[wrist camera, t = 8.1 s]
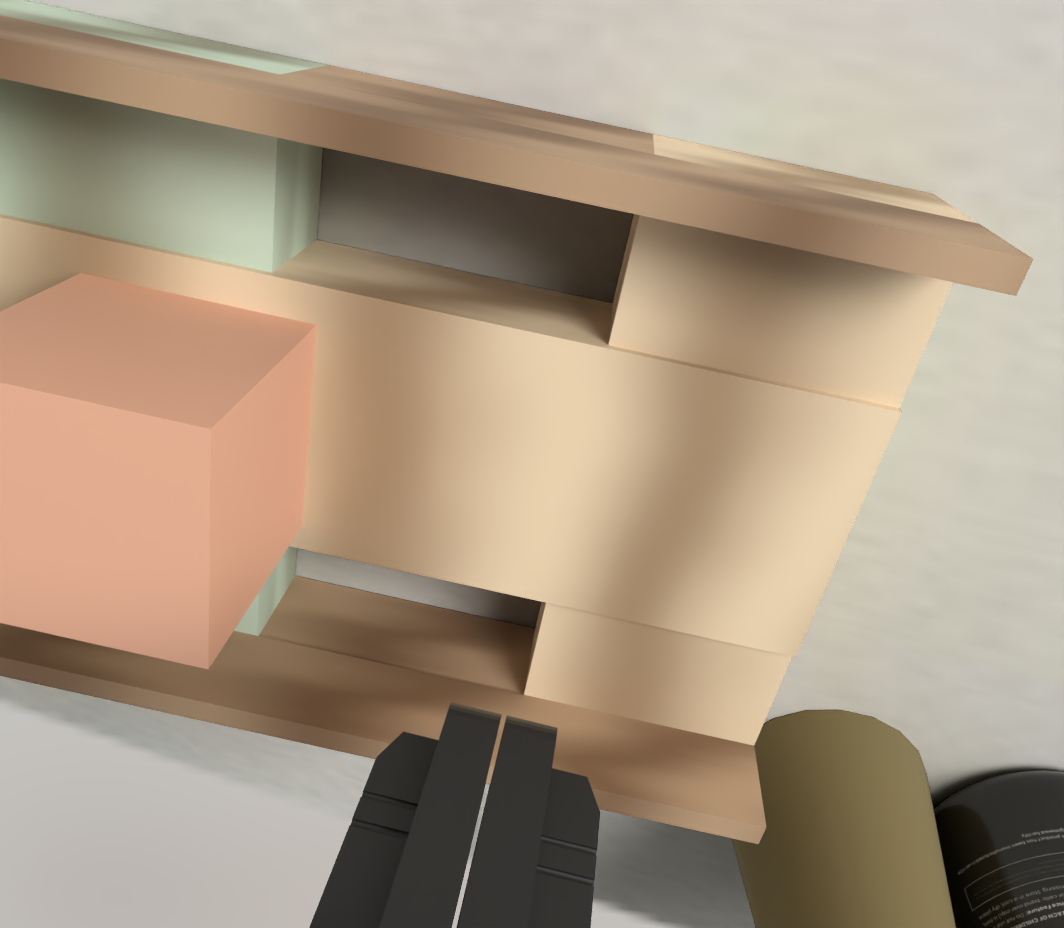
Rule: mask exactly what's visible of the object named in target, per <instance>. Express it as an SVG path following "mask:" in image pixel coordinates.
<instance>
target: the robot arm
mask: <svg viewBox="0 0 1064 928" xmlns="http://www.w3.org/2000/svg"><path fill="white" fill-rule="evenodd" d="M501 716H502V714H499V713H495V712H491V711H487V710H483V709H478V708H474V707H470V706H466V705H462V704H458V703H454V702H451V704H450V706H449V709H448V712H447V715H446V718H445V721H444V724H443V728H442V731H441V734H440V737H439V740H436V739H432V738H428V737H424V736H420V735H416V734H412V733H408V732H404V731H403V732H402V733H401V734H400V735H399V736H398V737H397V738H396V739H395V740H394V741H393V742H392V743H391V744H390V745H389V746H388V747H386V748H385V749H384V750H383V751H382V752H381V753H380V754H379V755H378V756H377V758H376V760H375V763H374V765H373V768H372V770H371V773H370V775H369V778H368V780H367V783H366V785H365V788H364V791H363V795H362V797H361V798H360V801H359V803H358V806H357V808H356V811H355V813H354V816H353V819H352V823H351V825H350V826H349V829H348V831H347V834H346V836H345V839H344V841H343V844H342V846H341V849H340V851H339V854H338V856H337V859H336V862H335V864H334V867H333V869H332V872H331V874H330V877H329V880H328V882H327V884H326V887H325V889H324V893H323V895H322V897H321V900H320V902H319V905H318V907H317V910H316V912H315V915H314V918H313V920H312V923H311V925H310V928H452V923H453V919H454V915H455V911H456V906H457V902H458V898H459V894H460V890H461V885H462V881H463V877H464V873H465V869H466V864H467V860H468V856H469V852H470V848H471V843H472V839H473V835H474V831H475V826H476V822H477V818H478V814H479V810H480V805H481V801H482V797H483V793H484V788H485V784H486V780H487V776H488V771H489V767H490V763H491V759H492V754H493V750H494V746H495V742H496V737H497V733H498V729H499V725H500V721H501ZM557 730H558V729H557V727H553V726H549V725H544V724H540V723H536V722H532V721H528V720H524V719H520V718H516V717H512V716H508V715H507V716H506V720H505V724H504V728H503V732H502V737H501V741H500V745H499V749H498V753H497V757H496V762H495V766H494V770H493V774H492V778H491V783H490V787H489V791H488V795H487V799H486V804H485V808H484V812H483V816H482V821H481V825H480V829H479V833H478V838H477V842H476V846H475V851H474V855H473V859H472V864H471V868H470V872H469V877H468V881H467V886H466V890H465V894H464V898H463V903H462V907H461V911H460V915H459V920H458V925H457V928H590V926H591V913H592V902H593V890H594V887H593V883H594V878H595V867H596V850H597V843H598V831H599V819H600V810H599V808H598V805H597V802H596V799H595V797H594V794H593V791H592V788H591V785H590V783H589V780H588V777H586V776H582V775H578V774H574V773H570V772H566V771H562V770H558V769H554V768H552V765H553V758H554V752H555V745H556V739H557Z"/></svg>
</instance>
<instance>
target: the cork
mask: <svg viewBox="0 0 1064 928" xmlns="http://www.w3.org/2000/svg"><path fill="white" fill-rule="evenodd" d="M754 748H755V755H756V761H757V768H758V774H759V781H760V788H761V794H762V801H763V808H764V814H765V821H766V829H765V831H764V834H763V836H762V838H761V840H760V842H759V844H755V843H750V842H746V841H741V840H737V839H732V841H733V844H734V848H735V852H736V856H737V859H738V863H739V867H740V871H741V875H742V878H743V882H744V886H745V890H746V893H747V897H748V901H749V905H750V909H751V912H752V916H753V920H754V924H755V927H756V928H956V926H955V921H954V915H953V910H952V905H951V899H950V894H949V889H948V884H947V878H946V873H945V868H944V863H943V857H942V852H941V847H940V842H939V836H938V831H937V826H936V821H935V815H934V810H933V805H932V800H931V794H930V789H929V784H928V778H927V773H926V770H925V768H924V765H923V762H922V759H921V757H920V754H919V751H918V750H917V749H916V748H915V747H914V746H913V745H912V744H911V743H910V741H909V740H908V739H907V738H906V737H905V736H904V735H903V734H902V733H901V732H900V731H898V730H896V729H894V728H893V727H891V726H889V725H887V724H885V723H883V722H881V721H879V720H877V719H876V718H874V717H870V716H866V715H861V714H857V713H852V712H848V711H843V710H806V711H802V712H798V713H794V714H790V715H786V716H782V717H778V718H774V719H772V720H771V721H769V722H767V723H765V724H763V726H762V729H761V731H760V733H759V736H758V738H757V740H756V743H755V745H754Z"/></svg>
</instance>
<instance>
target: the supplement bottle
mask: <svg viewBox="0 0 1064 928" xmlns="http://www.w3.org/2000/svg"><path fill="white" fill-rule="evenodd" d="M934 815H935V821H936V826H937V831H938V836H939V842H940V847H941V852H942V857H943V863H944V868H945V873H946V878H947V884H948V889H949V894H950V899H951V905H952V910H953V915H954V921H955V926H956V928H1064V772H1059V771H1043V770H1039V771H1022V772H1014V773H1008V774H1003V775H999V776H995V777H992V778H988V779H985V780H982V781H980V782H977V783H974V784H972V785H970V786H968V787H966V788H964V789H962V790H960V791H958V792H956V793H955V794H953V795H952V796H950V797H949V798H947V799H946V800H945V801H943V802H942V803H941V804H940V805H939V806H938V807H936V808H935V809H934Z"/></svg>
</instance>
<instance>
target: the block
mask: <svg viewBox="0 0 1064 928" xmlns="http://www.w3.org/2000/svg"><path fill="white" fill-rule="evenodd" d="M316 329H317V325H315V324H310V323H306V322H301V321H297V320H292V319H288V318H283V317H278V316H274V315H269V314H265V313H260V312H256V311H251V310H247V309H242V308H238V307H233V306H228V305H224V304H219V303H215V302H210V301H206V300H201V299H197V298H192V297H188V296H183V295H178V294H174V293H169V292H165V291H160V290H156V289H151V288H147V287H142V286H138V285H133V284H128V283H124V282H119V281H115V280H110V279H106V278H101V277H97V276H92V275H88V274H83V273H80V274H78V275H76V276H73V277H71V278H69V279H67V280H65V281H63V282H61V283H59V284H57V285H55V286H53V287H50V288H48V289H46V290H44V291H42V292H40V293H38V294H36V295H34V296H32V297H30V298H27V299H25V300H23V301H21V302H19V303H17V304H15V305H13V306H11V307H9V308H7V309H4V310H2V311H0V623H3V624H8V625H12V626H17V627H21V628H26V629H30V630H35V631H39V632H44V633H48V634H52V635H57V636H61V637H66V638H70V639H75V640H79V641H84V642H88V643H93V644H97V645H101V646H106V647H110V648H115V649H119V650H124V651H128V652H133V653H137V654H142V655H146V656H151V657H155V658H159V659H164V660H168V661H173V662H177V663H182V664H186V665H191V666H195V667H200V668H204V669H209V668H210V666H211V665H212V663H213V662H214V660H215V659H216V657H217V656H218V654H219V653H220V651H221V649H222V648H223V646H224V645H225V643H226V642H227V640H228V639H229V637H230V636H231V634H232V633H233V631H234V630H235V628H236V626H237V625H238V623H239V622H240V620H241V619H242V617H243V616H244V614H245V613H246V611H247V610H248V608H249V607H250V605H251V604H252V602H253V600H254V599H255V597H256V596H257V594H258V593H259V591H260V590H261V588H262V587H263V585H264V584H265V582H266V581H267V579H268V577H269V576H270V574H271V573H272V571H273V570H274V568H275V567H276V565H277V564H278V562H279V561H280V559H281V558H282V556H283V554H284V553H285V551H286V550H287V548H288V547H289V545H290V544H291V542H292V541H293V539H294V538H295V536H296V535H297V533H298V531H299V530H300V528H301V527H302V524H303V510H304V496H305V482H306V468H307V455H308V441H309V427H310V413H311V399H312V385H313V371H314V357H315V343H316Z"/></svg>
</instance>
